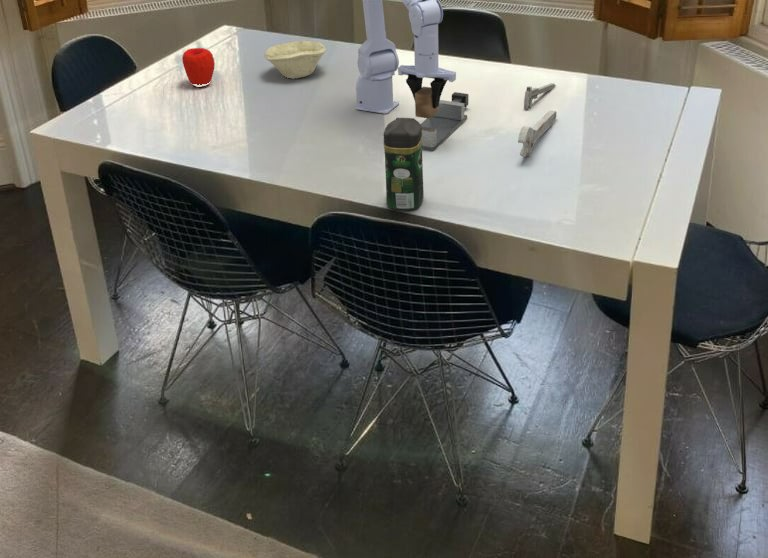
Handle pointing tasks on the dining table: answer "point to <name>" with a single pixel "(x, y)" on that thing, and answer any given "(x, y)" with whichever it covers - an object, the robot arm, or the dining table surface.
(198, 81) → the apple
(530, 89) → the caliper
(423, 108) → the block
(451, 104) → the slide jaw
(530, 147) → the wrench
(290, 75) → the bowl
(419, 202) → the coffee jar
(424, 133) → the vise
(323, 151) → the dining table surface
